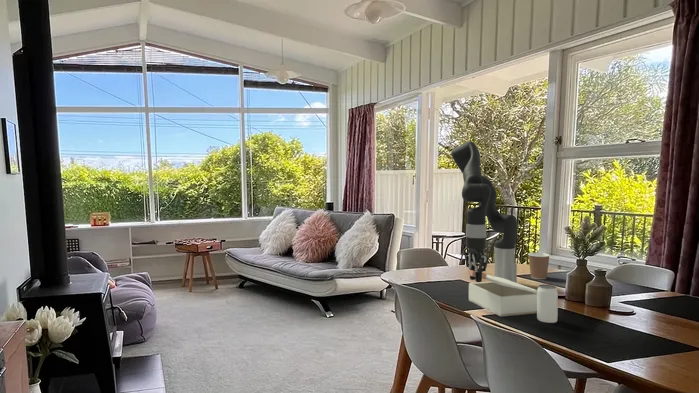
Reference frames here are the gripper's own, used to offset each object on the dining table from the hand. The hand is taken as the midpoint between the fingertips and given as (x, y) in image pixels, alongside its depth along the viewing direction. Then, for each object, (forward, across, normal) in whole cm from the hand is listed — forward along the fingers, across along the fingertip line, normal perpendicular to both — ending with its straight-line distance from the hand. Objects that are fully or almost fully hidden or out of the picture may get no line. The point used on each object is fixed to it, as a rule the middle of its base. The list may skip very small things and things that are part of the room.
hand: (475, 280), depth 160 cm
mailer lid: (+1, 0, -8) cm, 8 cm away
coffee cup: (+11, +39, -60) cm, 72 cm away
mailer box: (+11, 0, -12) cm, 16 cm away
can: (+11, -19, -16) cm, 27 cm away
